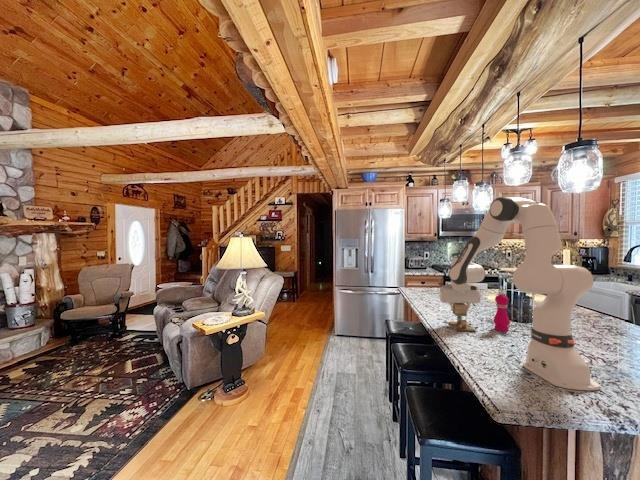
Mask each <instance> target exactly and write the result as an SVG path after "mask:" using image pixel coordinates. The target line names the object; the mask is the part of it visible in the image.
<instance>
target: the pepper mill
mask: <svg viewBox="0 0 640 480" xmlns="http://www.w3.org/2000/svg"><path fill="white" fill-rule="evenodd" d="M494 301H495V306H496V313H495V315H494V317H493V323H494V324H495V325H494V329H495V330H496V331H497V332H504V333H506V332H509V331H510V330H509V326H510V323H511V322H510V318H509V316H508V312H507V308H508V303H509V298H508V296H507V295H505V293H504V292H503V291H501V292H499V294H497V295H496V296H495V297H494Z"/></svg>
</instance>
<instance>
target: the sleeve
mask: <svg viewBox="0 0 640 480" xmlns="http://www.w3.org/2000/svg"><path fill="white" fill-rule="evenodd" d="M452 306H453V307H454V308H455V311H452V314H453V315H455V317H457V316H461V317H467V316H468V311H467V303H453V305H452Z"/></svg>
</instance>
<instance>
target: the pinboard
mask: <svg viewBox="0 0 640 480" xmlns="http://www.w3.org/2000/svg"><path fill="white" fill-rule="evenodd" d="M456 317H457V318H456V320H457V321H448V324H449V325H450V326H451V328H453V329H454V330H455V331H456V332H458V333H459V332H460V333H477V330H476V329H475V328H474V327H472V325H470V324H469V323H467V320H466V319H463V316H456Z"/></svg>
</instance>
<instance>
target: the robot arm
mask: <svg viewBox="0 0 640 480" xmlns="http://www.w3.org/2000/svg"><path fill="white" fill-rule="evenodd" d="M484 215H485V216H484V218H483V219H482V220H481V221H482V222H481V223H480V225H479V228H478V229H477V231H476V232H475V234H474V235H473V236H472V237H470V239H468V241H467V242H466V244H465V245H464V247H463V249H462V251H461V252H460V254H459V256H457V257H453V258H452V260H451V264H450V265H451V266H450V268H449V271H448V276H449V279H450V285H442V286H441V287H439V292H440V293H439V294H440V295H439V300H440V302H441V303H442V304H443V303H445V304H448V305H449V306H450V310H451V312H453V311H455V308H454V307H453V303H464V304H466V305H467V312H469V308H470V307H471V305H472V304H477V305H478V304H480V303H481V293H480V291H479V289H480V288H479V286H478V285H475V284H474V283H480V282H484V281H483V280H485V277H486V270H485V268H484V267H483V266H482V265H481V264H478V263H475V262H473V261H474V258H476V255H478V253H480V252H482V251H484V250H487V249H489V248H492V247H495V246H497V245H499V244H500V243H501V242H502V240H503V239H504V237H505V235H506V233H507V230H508V228H509V226H510V225H511V224H520V225H521V228H522V229H521V230H522V234H523V239H524V245H525V257H524V259H523V262H522V263H521V264H520V266H518V267H517V268H516V269H515V271H514V272H513V274H512V282H513V284H514V286H515V288H516V289H517V290H518V291H520V292H522V293H526V294H531V295H546V296H545V298H544V299H543V300H542V301H541V302H539V303H538V304H536V305H535V306H534V307H533V310H532V327H531V329H530V337H531V340H530V342H529V343H528V345H527V348H526V349H527V351H526V358H525V361H524V362H522V367H524V368H525V369H527V370H528V371H530V372H532V373H533V374H535V375H537V376H538V377H539V378H542V379H543V380H545V381H546V382H547V383H549V384H551V385H552V386H556V387H558V388H563V389H569V390H575V391H576V390H577V391H598V390H601V385H600V384H599V383H598V382H596V381H595V380H594V379H593V378H592V377H591V371H590V365H589V361H587V360H584V358H583V357H582V356H581V354H580V353H579V352H578V350H577V349H576V347H575V344H576V340H575V339H574V337H573V335H572V331H571V327H572V314H573V312H574V308H575V306H576V304H577V303H578V301H579V300H580V298H581V297H582V296H583V295H584V294H586V293H588V292H589V291H590V290H591V289H592V287H593V286H594V277H593V275H592V273H591V272H590V271H589V270H588V269H587V268H586V267H584V266H579V265H573V264H572V265H571V264H552V258H553V256H554V255H556V254H558V253H559V252H560V251H561V250H562V247H563V243H562V237H561V235H560V231H559V227H558V222H557V221H556V217H555V215H554V213H553V212H552V210H551V208H550V206H548V205H547V204H544V203H542V202H540V201H538V200H535V199H528V198H523V197H518V196H512V197H511V196H499V197H496V198H495V199H493V201H491V203H490V205H489V209H488V211H487V212H486V214H484Z"/></svg>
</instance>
